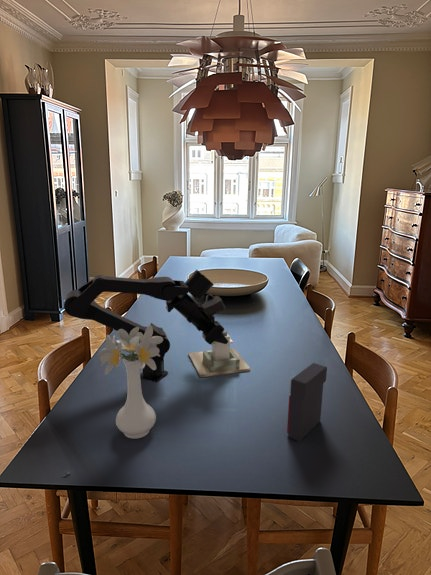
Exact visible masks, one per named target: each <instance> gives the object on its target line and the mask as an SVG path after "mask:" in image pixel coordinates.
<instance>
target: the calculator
mask: <svg viewBox="0 0 431 575" xmlns="http://www.w3.org/2000/svg"><path fill="white" fill-rule="evenodd" d="M327 371H328V367H327V366H325V365H321V364H319V363H314V362H312V363H311V364H310V365H309V366H307V367H306V368H304V369H303V370H302V371H300V372H299V373H298V374H296V375H295V376H294V377H292V378H291V379H290V384H289V385H290V386H289V390H290V391H289V396H288V408H287V409H288V410H287V428H286V433H287V436H288V438H290V439H293V440H295V441H298V442H301V441H302V440H303V439H304V437H305V436H307V435H308V434H309V433H310V432H311V431H312V430H313V429H314V428H315V427H316V426H317V425H318V424H319V423H320V422H321V417H322V403H323V392H324V391H323V390H324V383H325V382H327Z"/></svg>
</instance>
